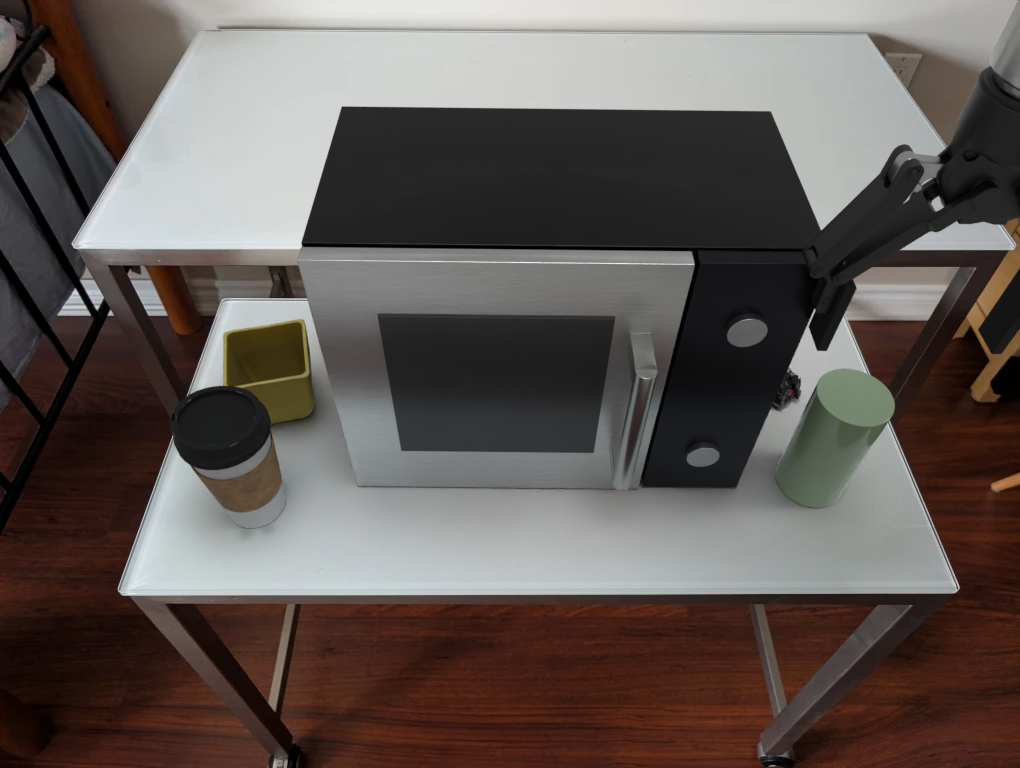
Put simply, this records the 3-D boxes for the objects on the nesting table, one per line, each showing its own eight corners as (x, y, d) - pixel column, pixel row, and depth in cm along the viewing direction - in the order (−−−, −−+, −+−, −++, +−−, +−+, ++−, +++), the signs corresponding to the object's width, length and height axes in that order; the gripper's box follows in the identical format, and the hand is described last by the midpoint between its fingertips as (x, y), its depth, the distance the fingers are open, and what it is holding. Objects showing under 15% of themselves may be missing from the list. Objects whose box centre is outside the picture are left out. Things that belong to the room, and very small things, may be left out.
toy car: (779, 336, 94) (789, 312, 91) (806, 411, 86) (818, 388, 83) (731, 336, 94) (739, 313, 90) (754, 411, 86) (763, 388, 83)
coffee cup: (221, 473, 80) (175, 381, 68) (301, 466, 80) (269, 374, 69) (209, 543, 74) (157, 457, 63) (296, 535, 75) (259, 448, 64)
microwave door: (643, 530, 75) (706, 310, 52) (350, 527, 75) (282, 306, 52) (636, 476, 80) (692, 250, 56) (359, 473, 80) (300, 246, 56)
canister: (850, 508, 78) (906, 426, 67) (784, 508, 77) (828, 426, 67) (831, 452, 82) (880, 368, 71) (768, 453, 82) (807, 368, 71)
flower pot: (245, 442, 82) (221, 390, 76) (244, 384, 88) (222, 330, 81) (325, 428, 84) (309, 375, 77) (319, 371, 89) (304, 317, 82)
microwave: (737, 495, 78) (838, 269, 55) (356, 491, 78) (294, 263, 55) (702, 341, 93) (771, 110, 69) (382, 338, 93) (341, 106, 69)
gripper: (1229, 55, 46) (1039, 310, 62) (820, 48, 46) (737, 304, 62) (1315, 120, 41) (1084, 378, 57) (856, 111, 41) (755, 372, 57)
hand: (903, 340), depth 59 cm, fingers open, 13 cm apart
